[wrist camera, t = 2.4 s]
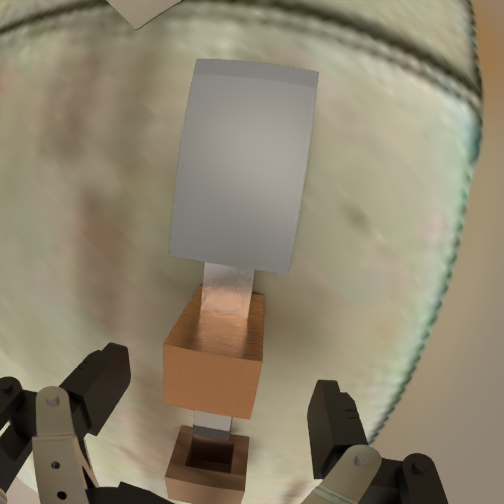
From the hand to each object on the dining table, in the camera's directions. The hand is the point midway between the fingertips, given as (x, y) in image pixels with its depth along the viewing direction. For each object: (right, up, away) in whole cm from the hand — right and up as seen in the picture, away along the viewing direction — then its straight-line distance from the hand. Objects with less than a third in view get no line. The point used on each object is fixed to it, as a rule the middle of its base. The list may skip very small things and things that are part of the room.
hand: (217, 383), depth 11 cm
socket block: (-2, -13, +11) cm, 17 cm away
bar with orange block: (0, +3, +7) cm, 7 cm away
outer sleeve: (+1, +10, +5) cm, 11 cm away
